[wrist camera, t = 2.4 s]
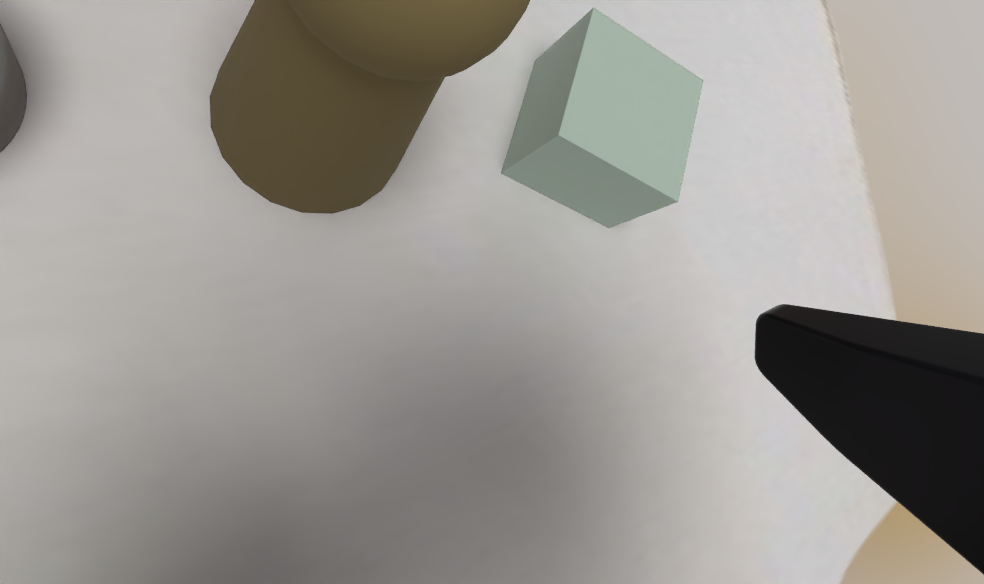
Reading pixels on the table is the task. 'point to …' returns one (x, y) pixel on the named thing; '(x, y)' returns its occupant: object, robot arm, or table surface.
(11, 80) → the grey short cylinder
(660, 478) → the table surface
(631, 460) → the table surface
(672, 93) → the sage block
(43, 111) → the table surface
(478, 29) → the olive pawn
